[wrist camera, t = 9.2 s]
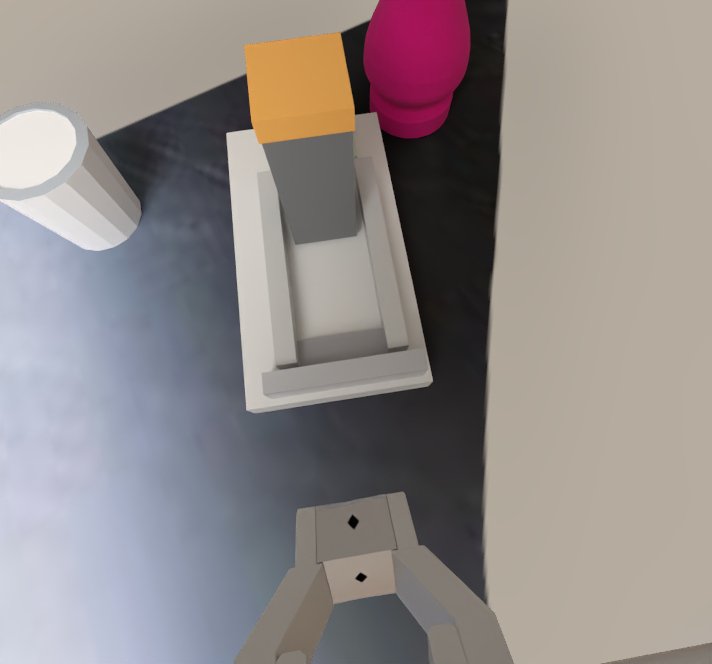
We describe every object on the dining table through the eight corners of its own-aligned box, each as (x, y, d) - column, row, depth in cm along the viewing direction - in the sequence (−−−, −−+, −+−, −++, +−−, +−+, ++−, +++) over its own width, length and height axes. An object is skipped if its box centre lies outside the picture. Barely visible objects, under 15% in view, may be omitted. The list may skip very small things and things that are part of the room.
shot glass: (46, 199, 30) (-45, 126, 23) (134, 163, 31) (70, 84, 24) (70, 273, 28) (-22, 218, 22) (162, 234, 29) (102, 169, 22)
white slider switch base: (255, 413, 25) (235, 406, 21) (235, 152, 31) (216, 110, 27) (427, 386, 26) (439, 375, 22) (375, 132, 31) (377, 88, 27)
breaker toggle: (294, 246, 26) (251, 122, 16) (287, 191, 27) (244, 45, 17) (358, 237, 26) (354, 107, 16) (348, 182, 27) (340, 32, 18)
